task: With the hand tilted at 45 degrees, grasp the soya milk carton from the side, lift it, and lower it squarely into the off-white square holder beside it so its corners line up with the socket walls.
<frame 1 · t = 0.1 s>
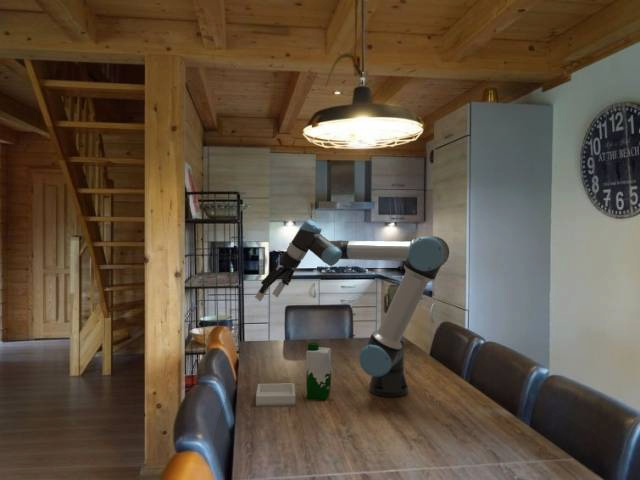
hand: (266, 297, 188), 36 cm above the table, tool tilted 35°, fingers open, 13 cm apart
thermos: (394, 351, 245), on the table
square holder: (275, 398, 171), on the table
soya milk: (318, 397, 174), on the table
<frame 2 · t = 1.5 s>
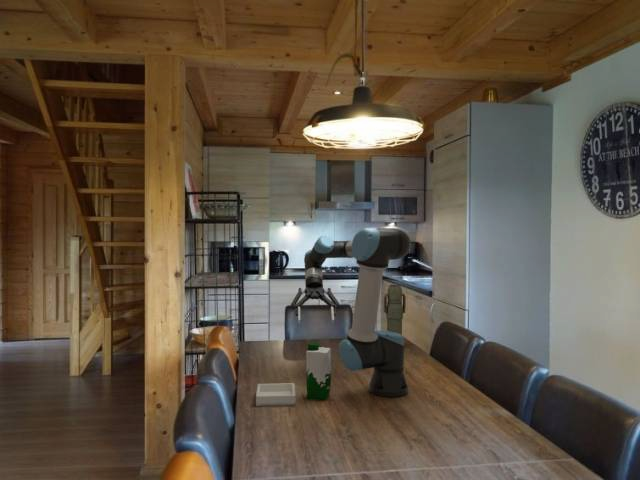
hand: (316, 322, 185), 26 cm above the table, tool tilted 45°, fingers open, 13 cm apart
nothing on the table moved.
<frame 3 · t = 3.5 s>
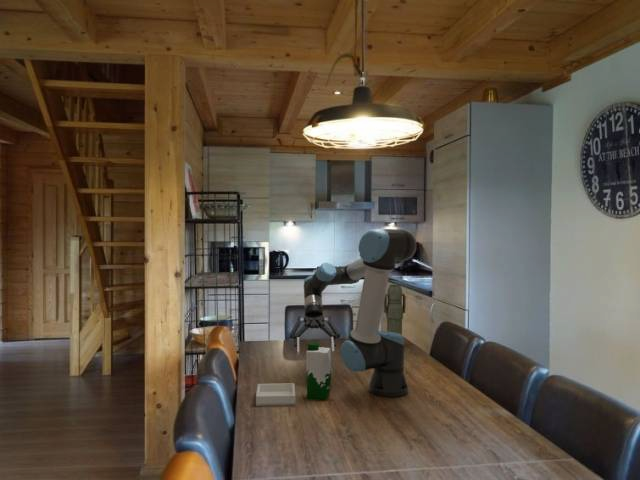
hand: (315, 353, 179), 15 cm above the table, tool tilted 45°, fingers open, 13 cm apart
nothing on the table moved.
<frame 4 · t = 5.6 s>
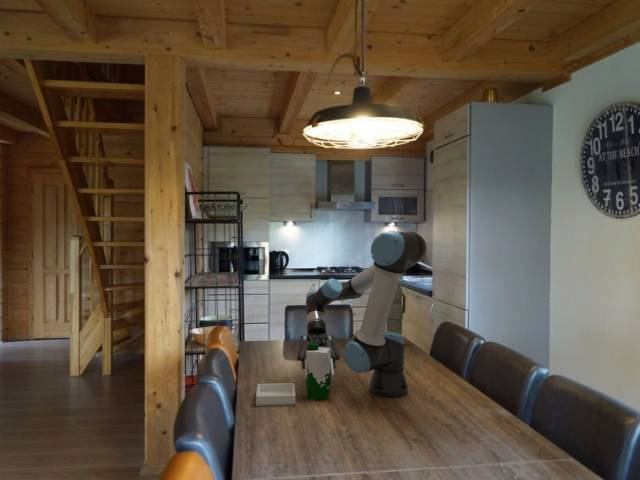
hand: (319, 376, 170), 9 cm above the table, tool tilted 45°, fingers closed on soya milk, 9 cm apart
soya milk: (318, 397, 174), on the table, touching gripper
everything else where it was.
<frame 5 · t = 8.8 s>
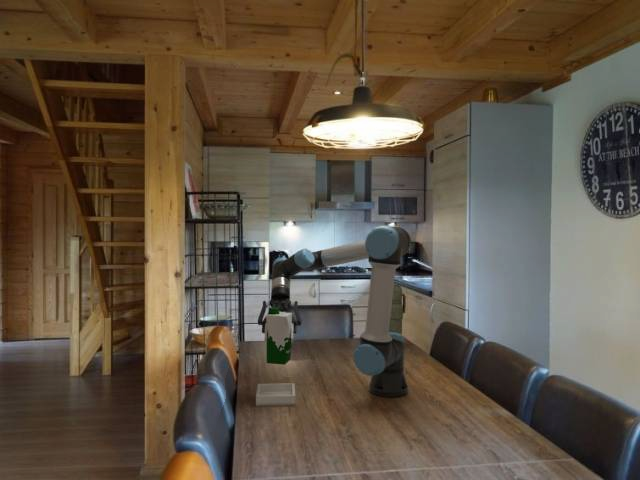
hand: (278, 340, 169), 22 cm above the table, tool tilted 45°, fingers closed on soya milk, 9 cm apart
soya milk: (278, 362, 173), point 13 cm above the table, touching gripper
everything else where it was.
when the fingers open (11 cm above the table, at t = 11.9 s): soya milk drops 2 cm, resting on square holder.
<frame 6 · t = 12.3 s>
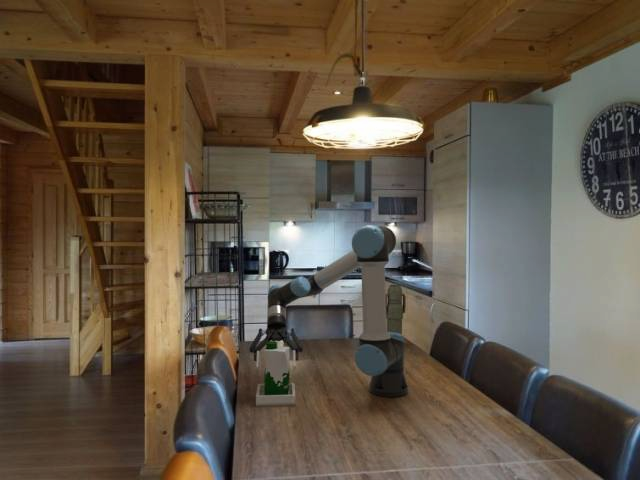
hand: (276, 368, 169), 12 cm above the table, tool tilted 45°, fingers open, 13 cm apart
soya milk: (276, 397, 172), point 1 cm above the table, touching square holder
everything else where it was.
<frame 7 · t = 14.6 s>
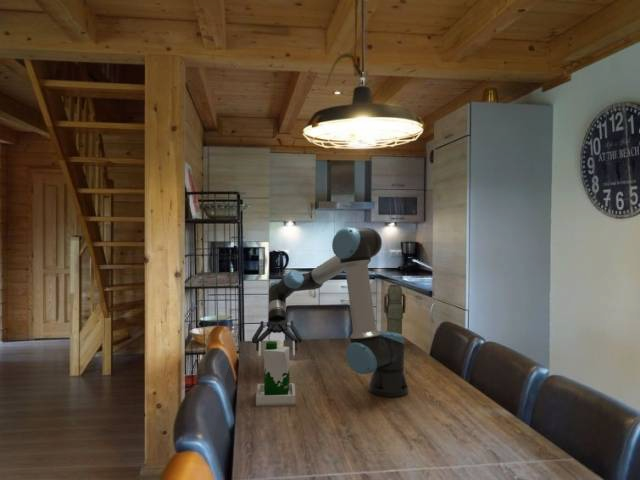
hand: (276, 357, 183), 12 cm above the table, tool tilted 45°, fingers open, 13 cm apart
nothing on the table moved.
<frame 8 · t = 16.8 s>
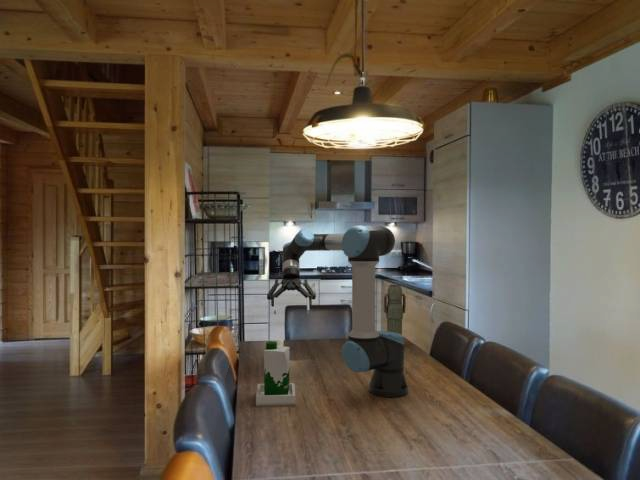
hand: (291, 312, 187), 30 cm above the table, tool tilted 45°, fingers open, 13 cm apart
nothing on the table moved.
at the end: soya milk 0.4 cm off-centre on the square holder, point 0.6 cm above the square holder's base; soya milk tilted 0°; the gripper is holding nothing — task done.
